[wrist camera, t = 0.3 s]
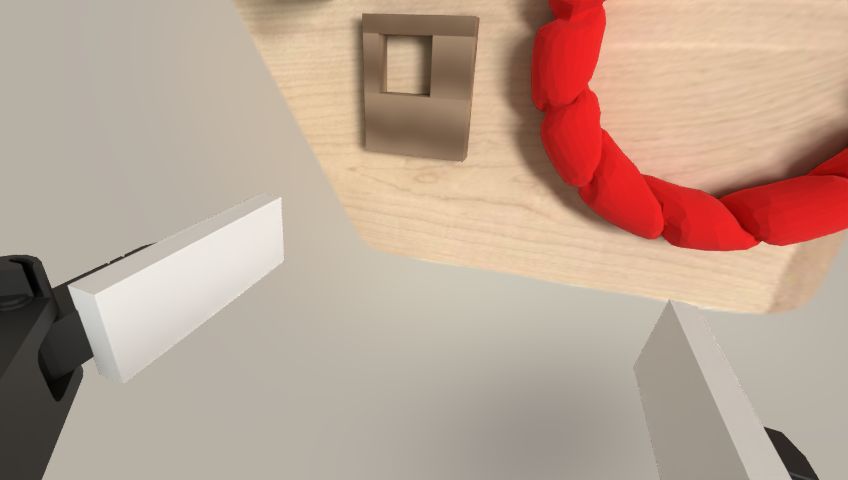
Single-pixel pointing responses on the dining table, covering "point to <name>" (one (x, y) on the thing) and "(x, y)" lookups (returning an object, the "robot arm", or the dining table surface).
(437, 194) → the dining table surface
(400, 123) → the square hole block
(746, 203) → the decorative ring
